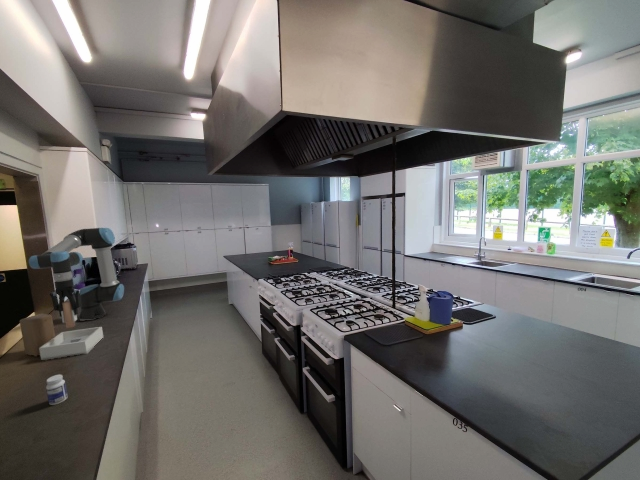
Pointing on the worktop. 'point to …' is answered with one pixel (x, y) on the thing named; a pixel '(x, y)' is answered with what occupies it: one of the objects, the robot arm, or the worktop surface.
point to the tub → (71, 343)
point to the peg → (68, 314)
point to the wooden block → (36, 332)
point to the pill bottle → (56, 390)
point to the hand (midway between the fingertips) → (70, 321)
